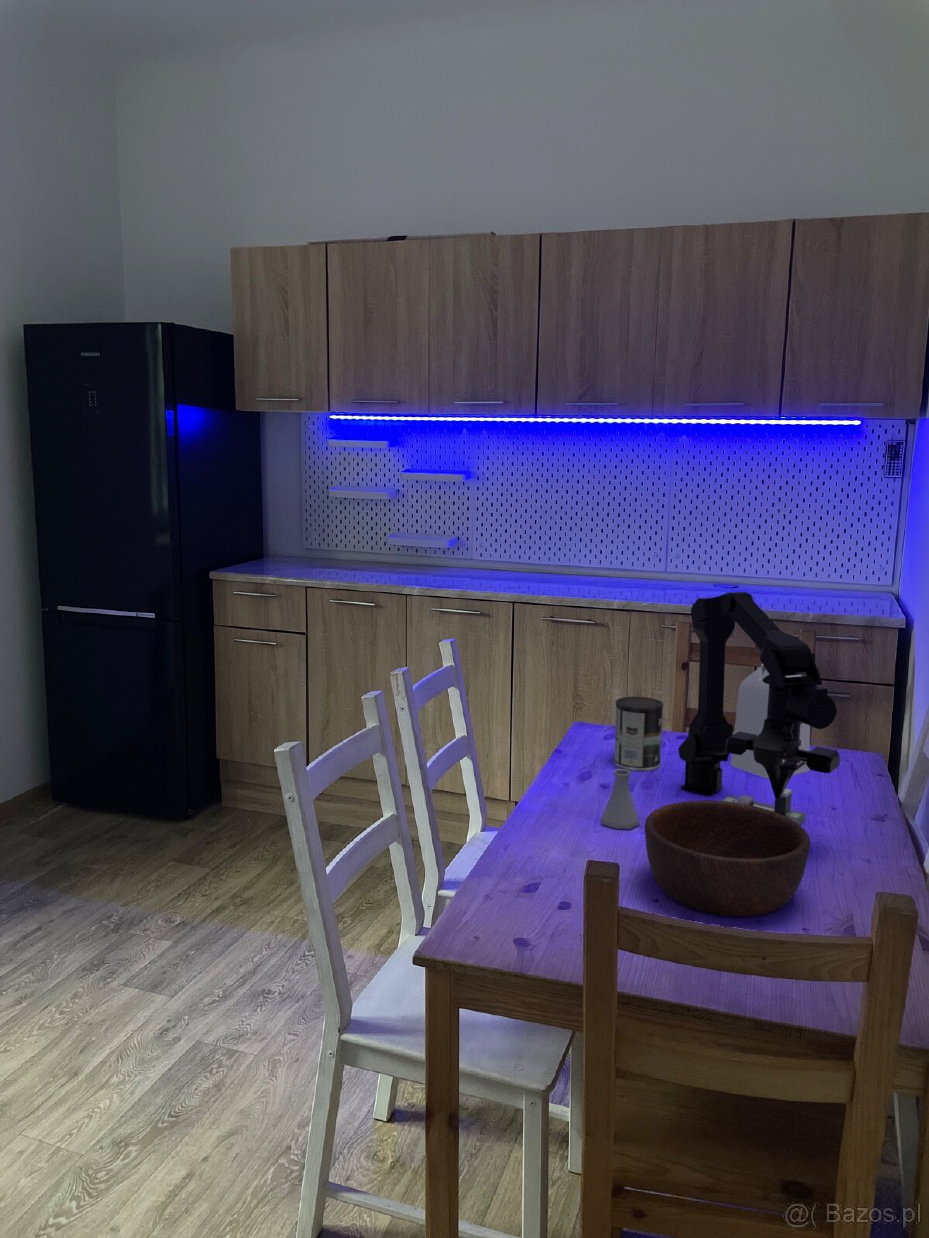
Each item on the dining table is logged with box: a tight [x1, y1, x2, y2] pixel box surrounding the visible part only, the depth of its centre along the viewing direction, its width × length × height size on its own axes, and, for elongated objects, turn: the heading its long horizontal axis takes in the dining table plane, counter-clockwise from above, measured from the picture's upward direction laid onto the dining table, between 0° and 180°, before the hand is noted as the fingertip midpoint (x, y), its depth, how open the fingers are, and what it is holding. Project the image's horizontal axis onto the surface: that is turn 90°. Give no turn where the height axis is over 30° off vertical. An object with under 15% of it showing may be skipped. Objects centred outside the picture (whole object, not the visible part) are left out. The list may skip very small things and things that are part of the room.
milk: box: [730, 663, 811, 781], centre depth 209 cm, size 12×12×26 cm
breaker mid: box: [737, 794, 755, 806], centre depth 177 cm, size 2×3×4 cm, turn 142°
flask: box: [600, 768, 640, 830], centre depth 179 cm, size 7×7×10 cm
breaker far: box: [774, 788, 793, 815], centre depth 181 cm, size 2×3×4 cm, turn 142°
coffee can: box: [613, 696, 664, 772], centre depth 212 cm, size 10×10×14 cm
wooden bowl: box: [644, 799, 811, 918], centre depth 152 cm, size 25×25×10 cm
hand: (778, 797), depth 173 cm, fingers closed
